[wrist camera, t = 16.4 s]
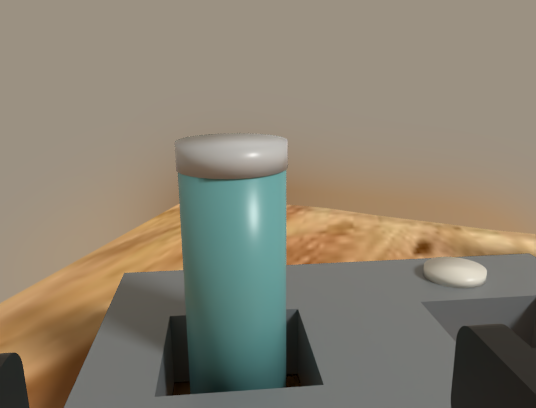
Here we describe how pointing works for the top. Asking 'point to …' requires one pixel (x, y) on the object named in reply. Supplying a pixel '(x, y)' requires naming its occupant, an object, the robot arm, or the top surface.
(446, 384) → the socket block
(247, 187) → the plug
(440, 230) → the top surface
